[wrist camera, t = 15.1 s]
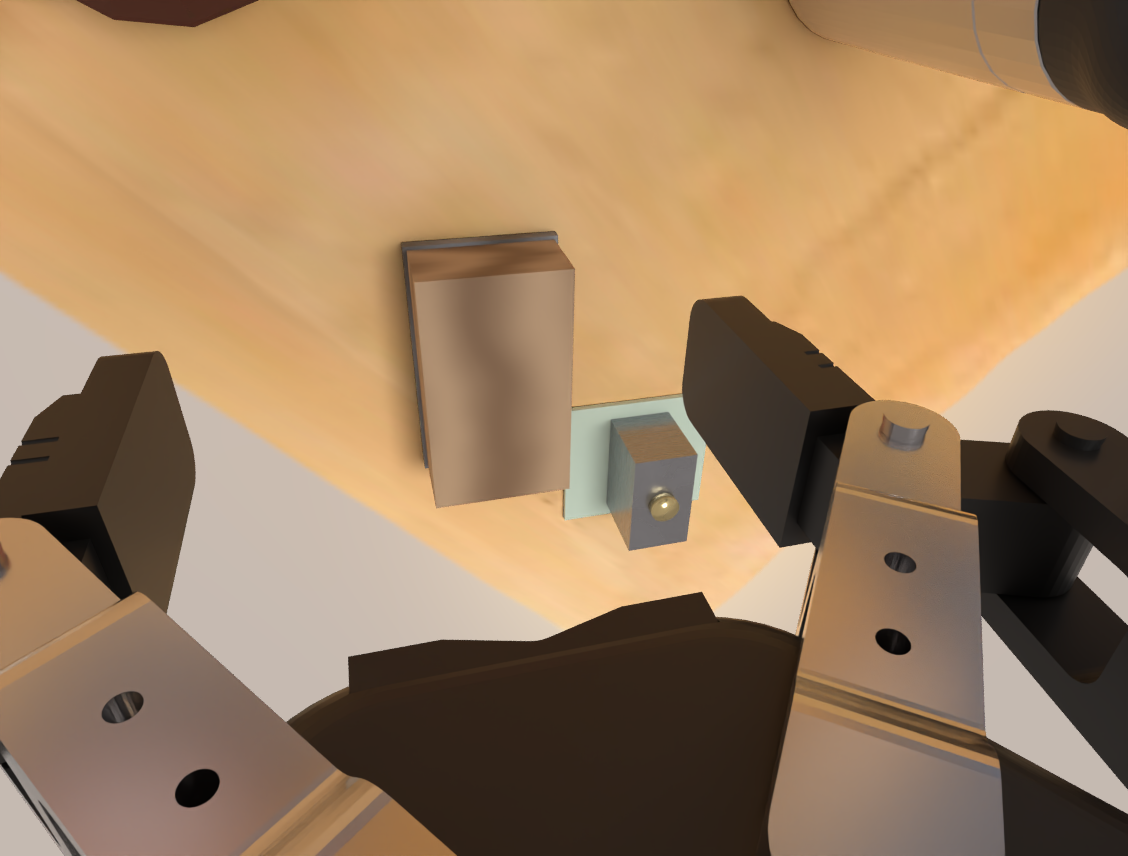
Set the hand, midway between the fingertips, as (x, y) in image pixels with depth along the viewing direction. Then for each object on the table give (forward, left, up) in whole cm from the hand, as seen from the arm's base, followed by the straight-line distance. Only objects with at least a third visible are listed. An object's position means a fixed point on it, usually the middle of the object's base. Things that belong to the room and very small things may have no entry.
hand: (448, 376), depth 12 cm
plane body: (-5, +16, -30) cm, 34 cm away
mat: (-15, +25, -30) cm, 42 cm away
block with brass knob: (-15, +25, -30) cm, 42 cm away
